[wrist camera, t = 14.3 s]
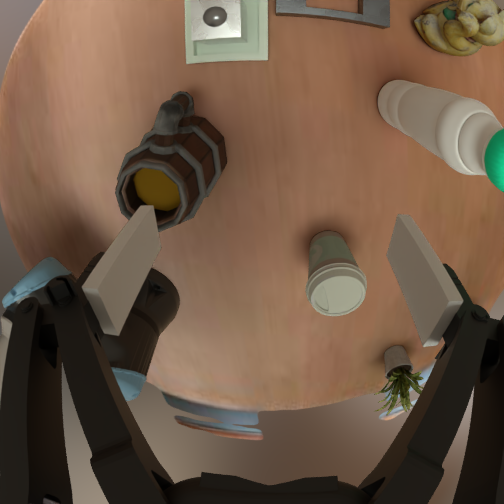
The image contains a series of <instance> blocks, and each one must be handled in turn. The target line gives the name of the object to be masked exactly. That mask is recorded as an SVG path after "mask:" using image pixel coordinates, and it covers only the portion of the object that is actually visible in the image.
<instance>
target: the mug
mask: <svg viewBox="0 0 504 504" xmlns="http://www.w3.org/2000/svg"><path fill="white" fill-rule="evenodd" d="M193 114H194V103H193V98H192V97H191V96H190V95H189V94H188V93H187V92H182V91H179V92H177V93H175V94H173V96H172V98H171V100H168V101H166V102H164V103H163V104H162V105H161V107H160V110H159V112H158V114H157V117H156V121H155V125H154V127H153V129H152V130H151V131H150V132H148V133H147V134H145V135H144V137H143V139H142V141H141V144H140V146H138V147H137V148H135V149H133V150H132V151H130V152H128V153H127V154H126V155H125V158H124V160H123V163H122V166H121V169H120V172H119V175H118V177H117V180H118V183H117V186H116V189H115V190H116V191H115V194H116V197H117V201H118V204H119V207H120V210H121V213H122V214H123V215H124V216H125V217H126V218H127V219H128V220H130V219H131V217H132V216H133V215H134V213H135V212H136V211H137V210H138V208H139V207H140V206H145V205H153V206H154V212H155V217H156V222H157V228H158V232H160V231H163V230H165V229H168V228H170V227H173V226H175V225H178V224H180V223H182V222H184V221H187V220H189V219H192V218H194V216H195V214H196V212H197V210H198V208H199V207H200V205H201V203H202V201H203V199H204V198H206V197H208V196H209V194H210V192H211V191H212V189H213V187H214V185H215V184H216V182H217V180H218V178H219V177H220V175H221V173H222V171H223V169H224V168H225V166H226V164H227V157H226V150H225V142H224V137H223V136H222V135H221V134H220V133H219V132H218V131H217V130H216V129H215V128H214V127H213V126H212V125H211V124H210V123H209V122H208V121H207V120H206V119H205V118H201V117H195V116H192V115H193ZM190 210H191V211H190Z"/></svg>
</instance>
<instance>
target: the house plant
mask: <svg viewBox="0 0 504 504" xmlns="http://www.w3.org/2000/svg"><path fill="white" fill-rule="evenodd" d="M384 357H385V377H386V378H387V379H389V382H392V381H393V380H394V381H393V383H392V384H391V386H390V387H389V388H388V389H386V390H384V389H385V388H386V387H387V385H388V384H389V382H388V383H387V385H386V386H385V387H384V388H383V389H382V390H381V391H378V392H379V393H384V392H387V391H389V390H390V389H391V388H393V386H394V388H393V390H392V389H391V391H392V393H391V391H390V393H391V394H392V395H391V398H390V400H389V401H388V402H387V404H386V405H384V407H382V408H381V409H383V408H385V407H386V406H387V405H388V404H389V403H390V401H391V400H392V399H393V400H392V403H391V405H390V408H389V409H388V410H389V412H388V413H387V415H388V414H389V413H390V412H391V411H392V409H393V407H394V405H395V403H396V401H397V397H398V394H400V398H401V401H400V402H401V404H402V406H403V408H404V410H405V411H406V412H407V410H406V407H407V409H408V410H409V409H410V405H411V406H412V404H411V403H410V399H409V391H408V390H409V389H410V386H411V387H412V388H413V389H414V390H415V391H416V392H417V393H419V394H421V392H422V391H421V390H420V389H419V388H418V387H420V388H422V389H423V387H421V386H419V385H418V382H417V381H416V380H422V379H423V377H419V375H420V374H421V372H422V371H420V372H418V373H415V374H411V372H412V370H413V365H412V363H411V361H410V359H409V357H408V355H407V353H406V351H405V349H404V347H403V346H393V347H390V348H389V349H387V350H386V351H385V353H384ZM407 376H408V377H409V378H410V379H411V380H412V381H413V382H414V383H415V384H414V383H413V382H412V381H411V380H410V379H409V378H407ZM399 389H400V392H399ZM379 393H376V394H379ZM390 393H389V395H390ZM389 395H388V396H387V397H386V398H385V399H384V400H382V401H385V400H386V399H387V398H388V397H389ZM382 401H380V402H382ZM400 402H399V403H400ZM405 405H406V406H405ZM412 407H413V406H412ZM381 409H378V410H376V411H379V410H381ZM387 415H386V416H387Z"/></svg>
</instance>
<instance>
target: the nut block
mask: <svg viewBox="0 0 504 504" xmlns="http://www.w3.org/2000/svg"><path fill="white" fill-rule="evenodd" d="M191 35H192V41H195V42H198V43H202V44H206V45H215V44H230V43H248V36H247V7H246V5H245V3H244V1H243V0H191Z"/></svg>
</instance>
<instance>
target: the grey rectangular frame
mask: <svg viewBox="0 0 504 504" xmlns="http://www.w3.org/2000/svg"><path fill="white" fill-rule="evenodd" d="M276 16H296V17H310V18H320V19H329V20H337V21H344V22H350V23H356V24H362V25H367V26H372V27H377V28H382V29H385V28H389V27H390V2H389V0H358V14H356V13H351V12H344V11H337V10H330V9H321V8H311V7H306V0H276Z"/></svg>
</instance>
